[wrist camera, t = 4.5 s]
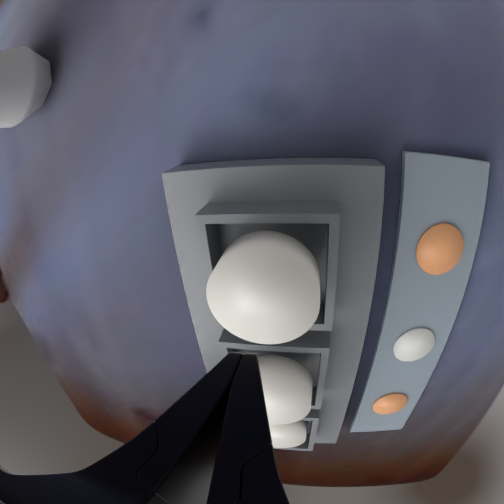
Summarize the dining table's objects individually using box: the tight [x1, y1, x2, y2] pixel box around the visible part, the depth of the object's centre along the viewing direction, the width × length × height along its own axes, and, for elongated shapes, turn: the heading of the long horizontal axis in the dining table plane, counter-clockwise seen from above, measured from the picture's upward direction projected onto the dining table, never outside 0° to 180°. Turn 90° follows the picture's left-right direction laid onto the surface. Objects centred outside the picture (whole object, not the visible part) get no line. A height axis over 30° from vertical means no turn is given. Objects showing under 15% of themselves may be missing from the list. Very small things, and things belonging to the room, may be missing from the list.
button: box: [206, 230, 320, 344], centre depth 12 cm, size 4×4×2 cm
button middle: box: [258, 355, 313, 425], centre depth 15 cm, size 4×4×2 cm
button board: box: [162, 158, 385, 451], centre depth 17 cm, size 23×10×4 cm, turn 5°
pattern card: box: [350, 151, 490, 432], centre depth 17 cm, size 24×5×1 cm, turn 5°
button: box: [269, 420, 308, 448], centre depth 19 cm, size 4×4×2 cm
